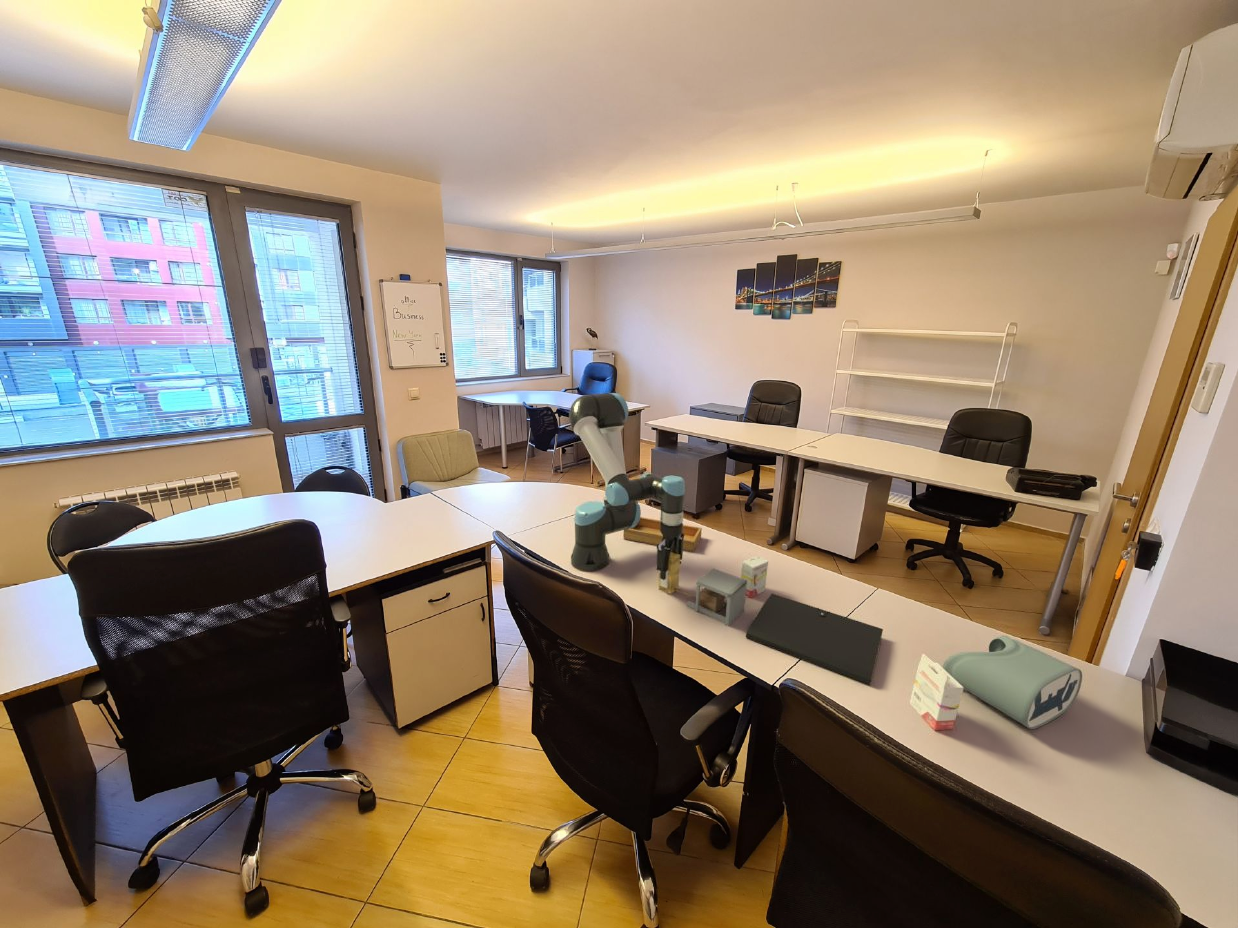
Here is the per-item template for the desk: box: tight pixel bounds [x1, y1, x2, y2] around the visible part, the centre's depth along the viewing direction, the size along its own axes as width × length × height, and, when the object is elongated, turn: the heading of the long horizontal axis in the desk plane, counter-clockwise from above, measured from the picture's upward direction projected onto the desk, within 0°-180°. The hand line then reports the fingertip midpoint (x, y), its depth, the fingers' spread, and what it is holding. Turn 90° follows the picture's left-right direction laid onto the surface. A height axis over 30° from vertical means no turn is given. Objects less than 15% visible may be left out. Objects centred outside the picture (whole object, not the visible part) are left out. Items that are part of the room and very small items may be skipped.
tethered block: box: [658, 552, 726, 614], centre depth 156 cm, size 22×6×13 cm, turn 50°
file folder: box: [745, 593, 884, 686], centre depth 138 cm, size 33×4×24 cm
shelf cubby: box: [686, 567, 747, 627], centre depth 150 cm, size 16×11×11 cm
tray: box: [623, 516, 703, 553], centre depth 201 cm, size 31×15×6 cm, turn 68°
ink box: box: [740, 555, 769, 599], centre depth 160 cm, size 9×5×12 cm, turn 126°
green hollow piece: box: [942, 635, 1083, 730], centre depth 116 cm, size 22×19×13 cm
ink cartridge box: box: [909, 653, 964, 731], centre depth 109 cm, size 9×5×15 cm, turn 5°
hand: (668, 583), depth 162 cm, fingers closed on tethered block, 5 cm apart
